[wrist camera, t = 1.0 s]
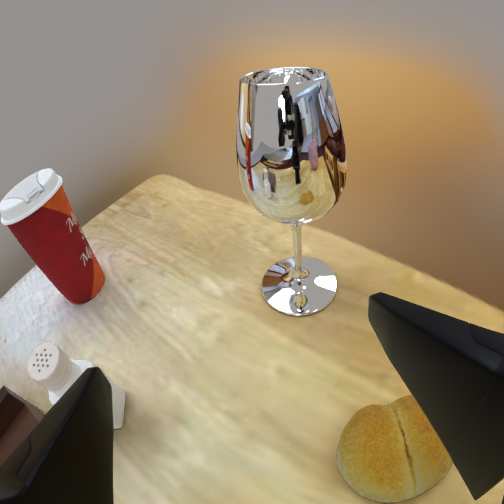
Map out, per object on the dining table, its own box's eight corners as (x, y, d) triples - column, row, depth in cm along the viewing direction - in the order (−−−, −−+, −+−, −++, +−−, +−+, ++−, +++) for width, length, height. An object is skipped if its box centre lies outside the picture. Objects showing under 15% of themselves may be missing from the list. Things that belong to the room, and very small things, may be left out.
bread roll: (329, 417, 21) (333, 402, 18) (432, 392, 20) (451, 373, 17) (341, 515, 15) (349, 518, 12) (453, 481, 14) (477, 474, 11)
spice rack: (103, 478, 18) (63, 466, 14) (33, 571, 9) (-8, 568, 5) (38, 408, 23) (3, 384, 19) (-20, 495, 13) (-57, 481, 10)
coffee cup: (124, 275, 35) (68, 168, 25) (77, 323, 31) (2, 221, 20) (92, 254, 39) (43, 162, 29) (50, 293, 35) (-10, 204, 24)
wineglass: (266, 255, 34) (237, 68, 21) (338, 258, 32) (341, 63, 19) (253, 314, 29) (203, 95, 15) (337, 319, 27) (352, 88, 13)
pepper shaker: (124, 431, 21) (55, 388, 15) (88, 427, 22) (17, 383, 15) (128, 390, 24) (69, 335, 18) (93, 389, 24) (31, 336, 18)
